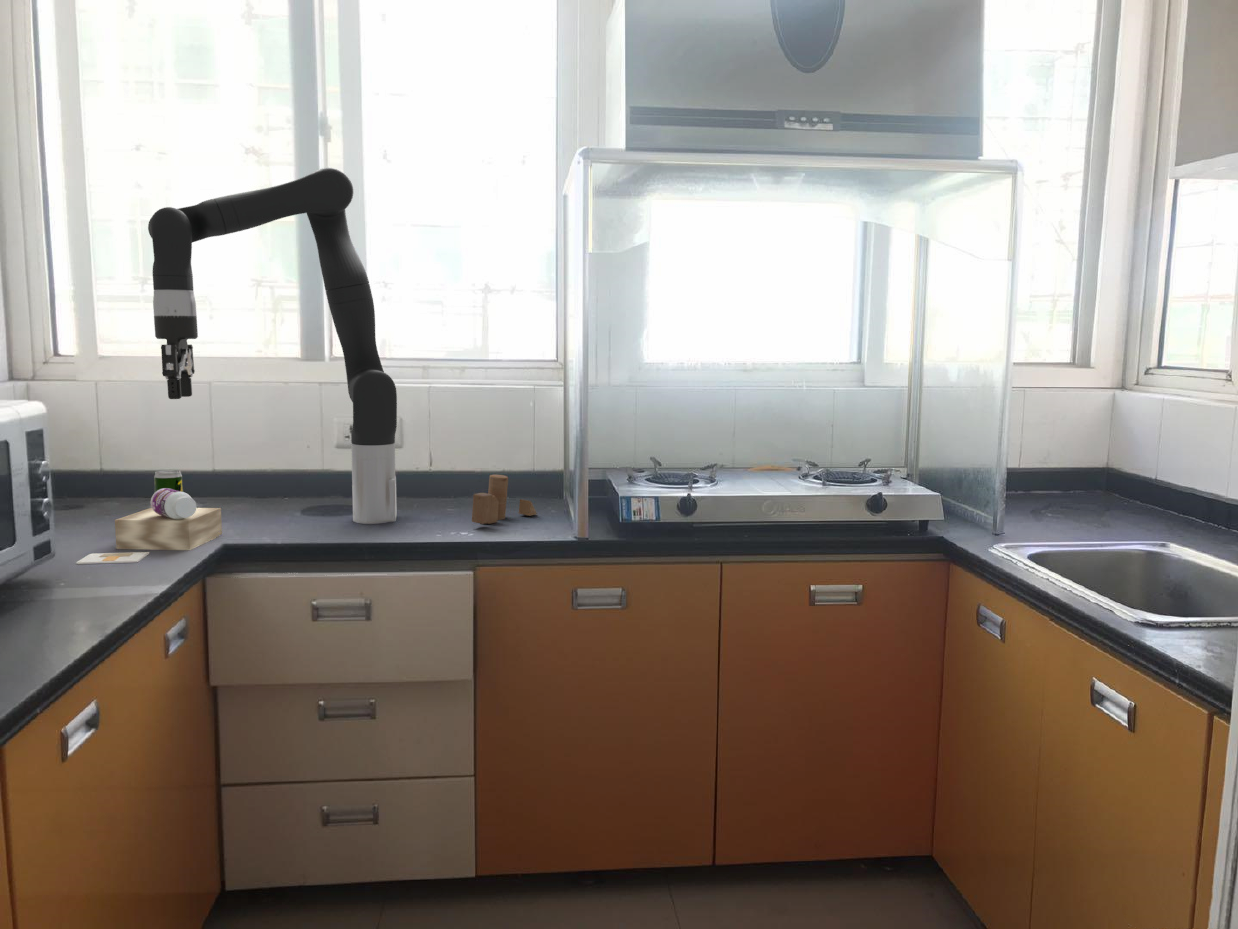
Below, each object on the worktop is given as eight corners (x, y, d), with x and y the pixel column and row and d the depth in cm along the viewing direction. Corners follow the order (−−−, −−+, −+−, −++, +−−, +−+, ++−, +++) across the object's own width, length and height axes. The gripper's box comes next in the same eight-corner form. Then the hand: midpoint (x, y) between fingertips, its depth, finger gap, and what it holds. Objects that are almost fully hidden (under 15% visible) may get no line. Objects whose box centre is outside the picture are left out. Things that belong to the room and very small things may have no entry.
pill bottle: (154, 484, 177) (177, 489, 171) (180, 491, 181) (204, 497, 175) (145, 511, 176) (168, 517, 170) (171, 518, 181) (195, 524, 174)
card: (149, 553, 171) (149, 551, 171) (137, 562, 164) (137, 560, 164) (90, 555, 169) (90, 553, 169) (76, 564, 162) (76, 561, 162)
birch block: (222, 537, 188) (220, 508, 187) (189, 552, 174) (188, 521, 174) (154, 536, 188) (152, 507, 187) (116, 551, 174) (114, 520, 174)
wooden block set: (488, 533, 194) (492, 485, 193) (456, 525, 198) (459, 479, 197) (536, 521, 210) (540, 477, 209) (505, 515, 214) (509, 471, 213)
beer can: (158, 531, 191) (155, 473, 190) (154, 526, 196) (152, 470, 194) (186, 528, 194) (184, 472, 193) (182, 524, 199) (180, 469, 197)
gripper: (187, 313, 172) (192, 399, 175) (204, 315, 186) (209, 395, 188) (143, 313, 171) (149, 400, 173) (164, 315, 185) (169, 395, 187)
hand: (180, 397), depth 181 cm, fingers open, 8 cm apart
